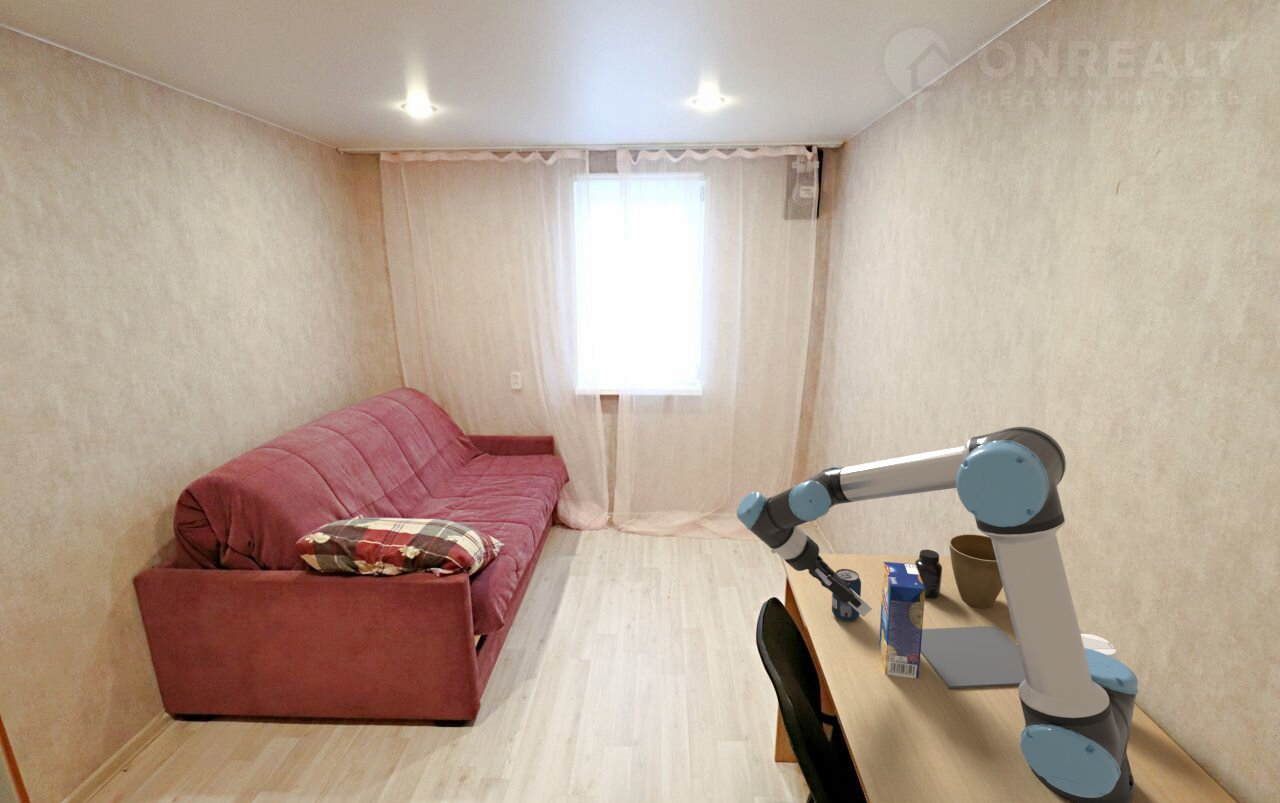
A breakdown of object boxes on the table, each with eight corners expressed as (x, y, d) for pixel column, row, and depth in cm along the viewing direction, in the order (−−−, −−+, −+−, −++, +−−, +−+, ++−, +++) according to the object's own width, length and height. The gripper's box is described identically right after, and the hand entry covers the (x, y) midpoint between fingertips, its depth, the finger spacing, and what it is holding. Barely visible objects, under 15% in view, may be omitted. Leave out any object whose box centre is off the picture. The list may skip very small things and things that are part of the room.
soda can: (849, 606, 154) (851, 566, 152) (865, 621, 148) (867, 579, 145) (826, 610, 153) (827, 569, 151) (840, 625, 146) (842, 583, 144)
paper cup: (1098, 693, 120) (1107, 634, 117) (1117, 720, 113) (1127, 658, 110) (1055, 687, 122) (1063, 629, 119) (1071, 714, 115) (1080, 653, 112)
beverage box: (909, 648, 137) (915, 564, 132) (918, 679, 127) (925, 589, 122) (879, 644, 139) (883, 561, 134) (885, 674, 128) (890, 586, 124)
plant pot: (941, 582, 164) (945, 531, 161) (1000, 590, 159) (1006, 537, 156) (949, 611, 150) (954, 556, 147) (1015, 620, 145) (1022, 563, 142)
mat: (1054, 683, 123) (1054, 681, 123) (948, 688, 123) (948, 686, 123) (996, 627, 143) (996, 625, 143) (905, 632, 143) (905, 630, 143)
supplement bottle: (907, 590, 161) (909, 550, 159) (924, 583, 164) (927, 545, 161) (928, 601, 155) (931, 561, 152) (945, 595, 158) (949, 555, 155)
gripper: (775, 545, 133) (843, 605, 137) (791, 573, 121) (866, 639, 124) (798, 522, 132) (866, 584, 136) (816, 549, 120) (891, 616, 123)
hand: (866, 610), depth 130 cm, fingers closed
